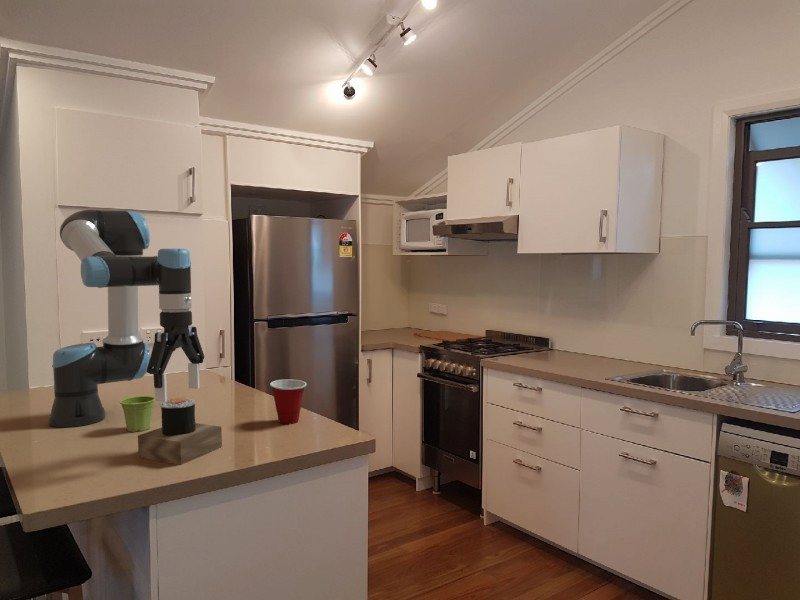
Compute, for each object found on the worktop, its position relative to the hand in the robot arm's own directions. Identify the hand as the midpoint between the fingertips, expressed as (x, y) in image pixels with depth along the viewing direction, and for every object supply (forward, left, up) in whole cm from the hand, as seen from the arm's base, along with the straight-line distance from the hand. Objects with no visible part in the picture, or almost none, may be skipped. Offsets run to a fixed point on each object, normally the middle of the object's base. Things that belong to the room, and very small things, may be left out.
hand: (178, 394), depth 146 cm
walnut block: (0, 0, -15) cm, 15 cm away
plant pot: (-25, +16, -15) cm, 33 cm away
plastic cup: (+15, +32, -15) cm, 38 cm away
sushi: (0, 0, -10) cm, 10 cm away
